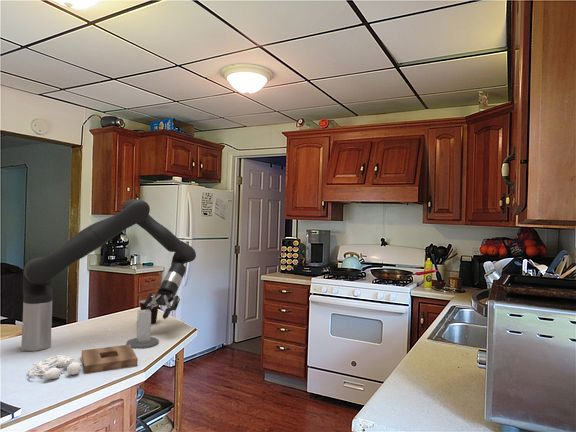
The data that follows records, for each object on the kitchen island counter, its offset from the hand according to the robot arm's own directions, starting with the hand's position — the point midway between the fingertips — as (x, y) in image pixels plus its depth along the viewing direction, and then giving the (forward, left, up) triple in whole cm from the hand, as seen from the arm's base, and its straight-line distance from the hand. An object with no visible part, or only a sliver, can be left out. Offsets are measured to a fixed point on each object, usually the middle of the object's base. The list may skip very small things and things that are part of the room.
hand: (154, 316), depth 166 cm
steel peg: (-5, -5, -8) cm, 11 cm away
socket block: (-19, -20, -9) cm, 29 cm away
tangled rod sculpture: (-36, -22, -9) cm, 43 cm away
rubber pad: (-5, -5, -9) cm, 11 cm away
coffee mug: (+4, +26, -9) cm, 28 cm away
